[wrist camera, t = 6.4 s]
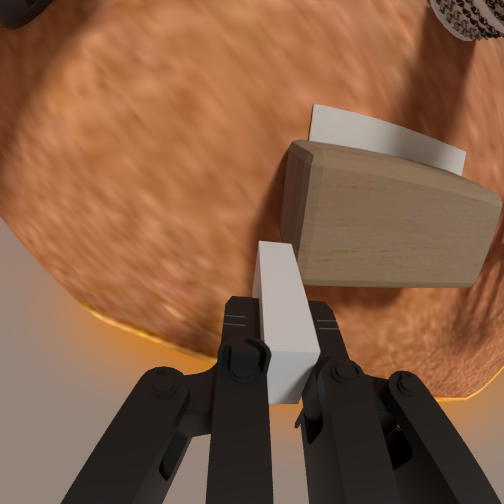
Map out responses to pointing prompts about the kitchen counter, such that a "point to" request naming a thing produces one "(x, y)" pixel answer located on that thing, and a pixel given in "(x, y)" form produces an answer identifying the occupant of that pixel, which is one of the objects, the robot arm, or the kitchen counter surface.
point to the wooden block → (383, 219)
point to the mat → (382, 138)
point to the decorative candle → (471, 18)
